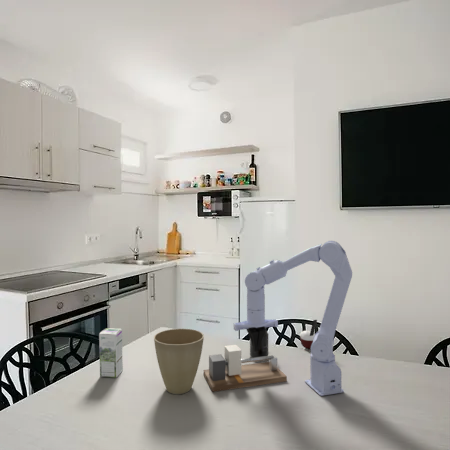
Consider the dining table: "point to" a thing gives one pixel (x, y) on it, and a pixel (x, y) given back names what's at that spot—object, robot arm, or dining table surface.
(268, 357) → the rail
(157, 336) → the plant pot
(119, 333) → the syrup box
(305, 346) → the cocoa
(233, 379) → the board
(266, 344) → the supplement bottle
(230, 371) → the sleeve
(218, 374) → the block
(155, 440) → the dining table surface
